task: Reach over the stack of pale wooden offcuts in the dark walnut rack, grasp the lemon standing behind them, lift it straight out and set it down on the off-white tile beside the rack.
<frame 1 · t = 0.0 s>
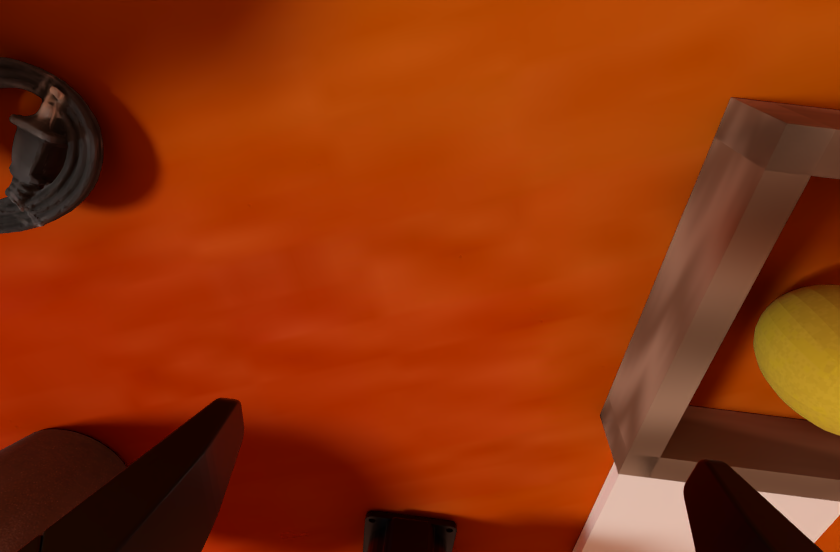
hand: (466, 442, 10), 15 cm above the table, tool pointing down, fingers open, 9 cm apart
tile: (699, 515, 33), on the table
plant pot: (78, 461, 35), on the table
lemon: (782, 300, 25), resting in walnut rack
walnut rack: (836, 309, 24), on the table
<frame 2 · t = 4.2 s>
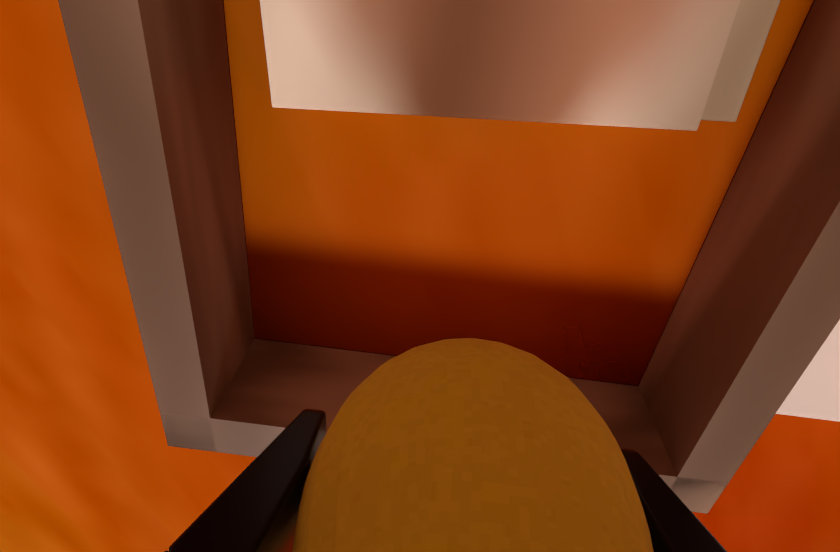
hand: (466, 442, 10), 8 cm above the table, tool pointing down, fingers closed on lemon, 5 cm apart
lemon: (465, 359, 12), point 5 cm above the table, touching gripper
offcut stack: (507, 18, 13), on the table
walnut rack: (477, 179, 15), on the table
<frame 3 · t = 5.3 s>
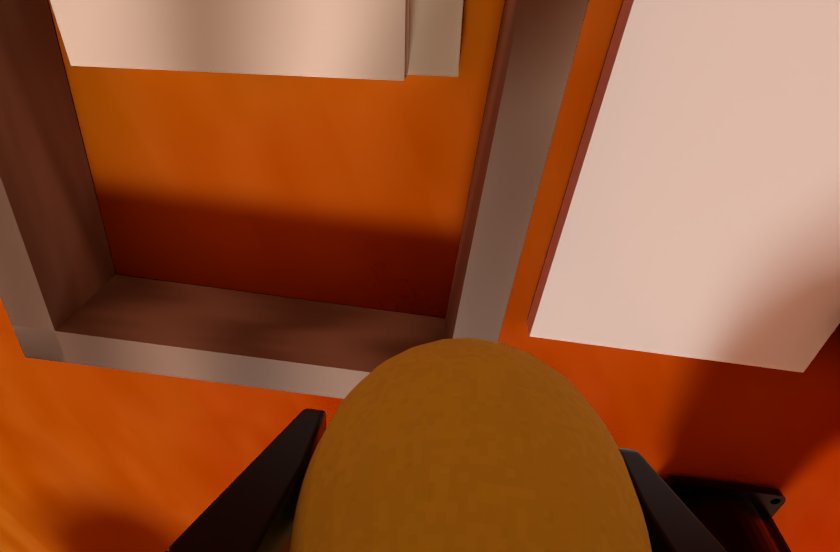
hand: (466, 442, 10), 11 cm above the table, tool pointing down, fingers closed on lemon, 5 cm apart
tile: (730, 195, 19), on the table
lemon: (464, 359, 12), point 9 cm above the table, touching gripper
walnut rack: (275, 132, 18), on the table
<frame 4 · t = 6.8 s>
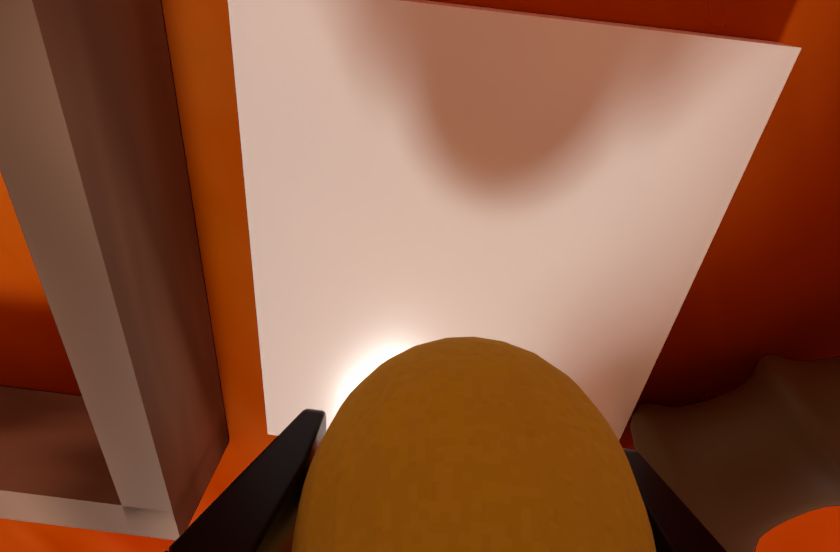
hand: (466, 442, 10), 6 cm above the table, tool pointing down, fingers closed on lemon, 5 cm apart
tile: (463, 274, 15), on the table
lemon: (466, 358, 12), point 4 cm above the table, touching gripper
when the fingers open (4 cm above the table, at t = 8.0 s): lemon stays where it is, resting on tile.
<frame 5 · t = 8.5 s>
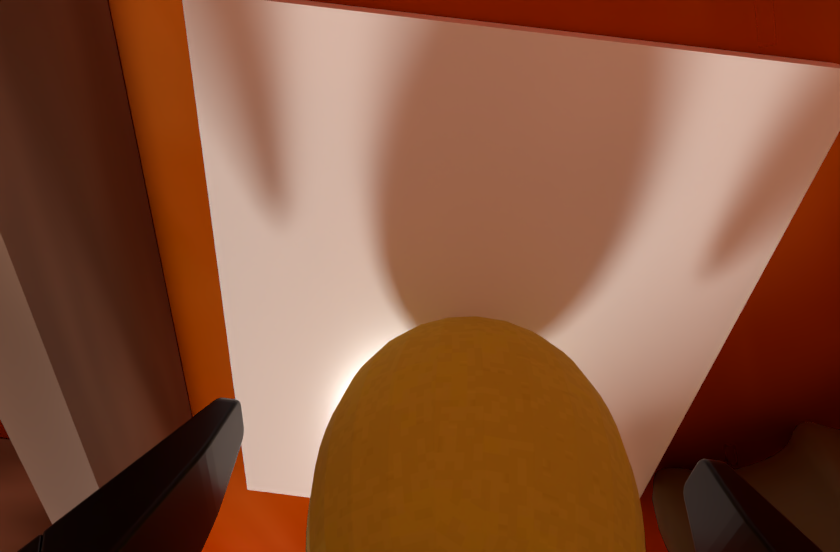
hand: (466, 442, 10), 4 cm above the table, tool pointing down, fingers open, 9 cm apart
tile: (464, 320, 13), on the table
lemon: (468, 340, 12), point 1 cm above the table, touching tile
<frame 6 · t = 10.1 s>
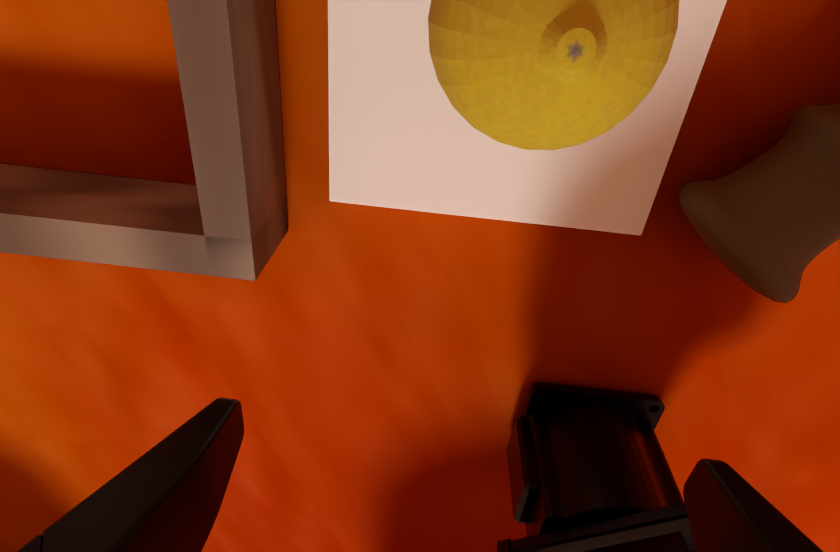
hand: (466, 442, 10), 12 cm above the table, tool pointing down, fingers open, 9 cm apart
tile: (517, 10, 16), on the table
lemon: (522, 14, 16), point 1 cm above the table, touching tile
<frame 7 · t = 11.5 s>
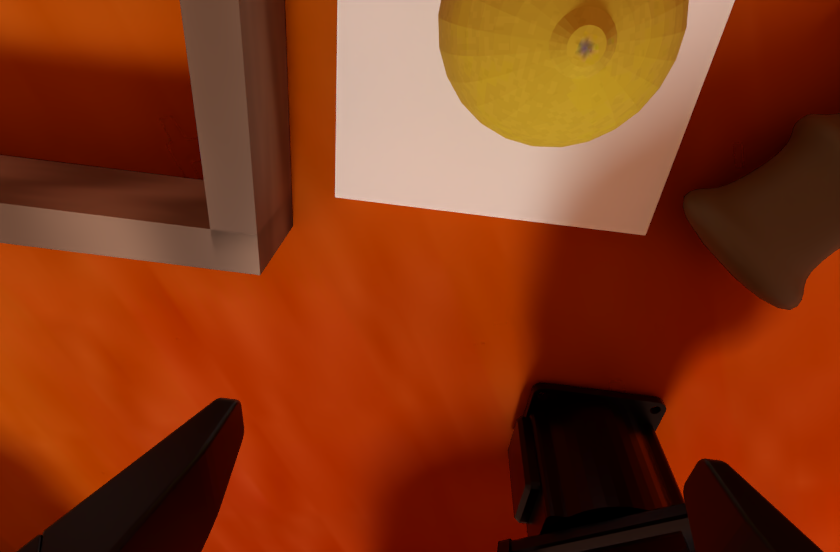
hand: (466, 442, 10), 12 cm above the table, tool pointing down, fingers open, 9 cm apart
tile: (525, 9, 16), on the table
lemon: (531, 12, 16), point 1 cm above the table, touching tile
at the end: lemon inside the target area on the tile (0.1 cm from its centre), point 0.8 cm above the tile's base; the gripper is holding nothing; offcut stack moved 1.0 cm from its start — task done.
